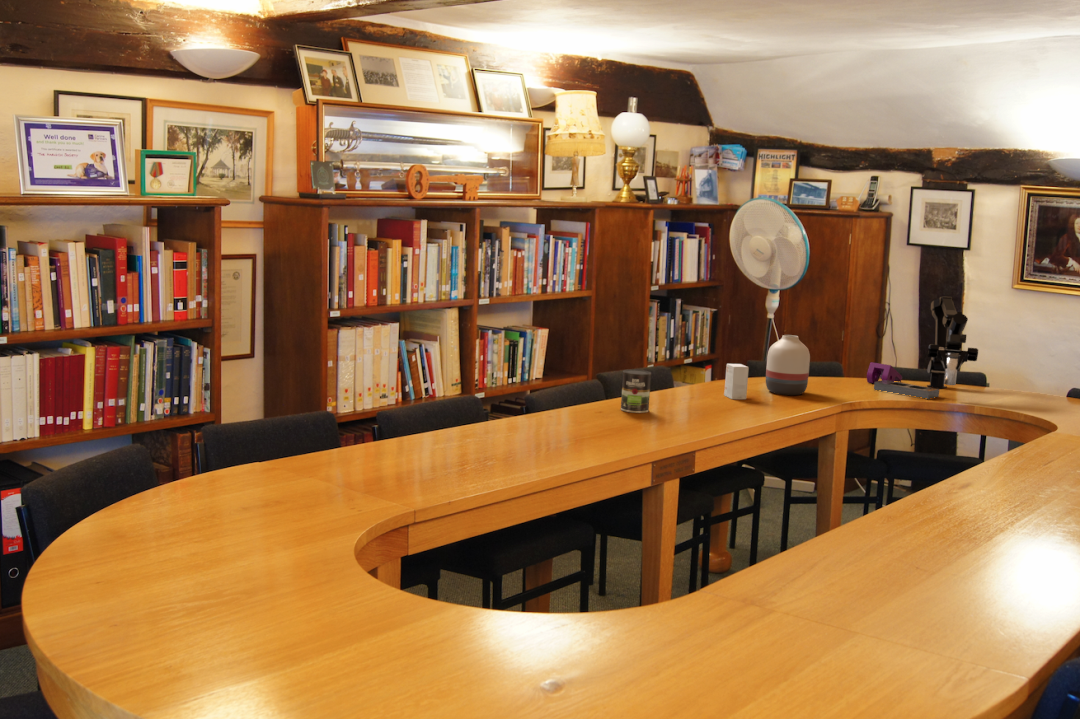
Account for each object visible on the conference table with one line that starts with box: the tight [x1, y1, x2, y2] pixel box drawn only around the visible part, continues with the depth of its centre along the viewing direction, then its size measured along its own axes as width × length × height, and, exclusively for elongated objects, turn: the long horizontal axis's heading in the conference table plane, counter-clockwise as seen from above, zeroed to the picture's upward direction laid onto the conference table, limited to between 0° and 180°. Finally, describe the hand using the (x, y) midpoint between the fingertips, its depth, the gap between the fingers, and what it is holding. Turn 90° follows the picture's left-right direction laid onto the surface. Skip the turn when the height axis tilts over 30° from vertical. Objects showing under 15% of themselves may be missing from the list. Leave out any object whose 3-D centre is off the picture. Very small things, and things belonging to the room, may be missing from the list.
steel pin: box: [944, 352, 960, 386], centre depth 389 cm, size 4×4×13 cm
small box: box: [723, 363, 749, 400], centre depth 376 cm, size 8×6×13 cm
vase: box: [765, 334, 811, 396], centre depth 391 cm, size 17×17×24 cm
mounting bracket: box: [866, 362, 903, 385], centre depth 427 cm, size 10×8×18 cm
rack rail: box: [873, 380, 940, 400], centre depth 403 cm, size 10×24×4 cm, turn 43°
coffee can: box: [620, 369, 652, 414], centre depth 344 cm, size 10×10×14 cm
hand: (951, 368), depth 388 cm, fingers closed on steel pin, 4 cm apart
